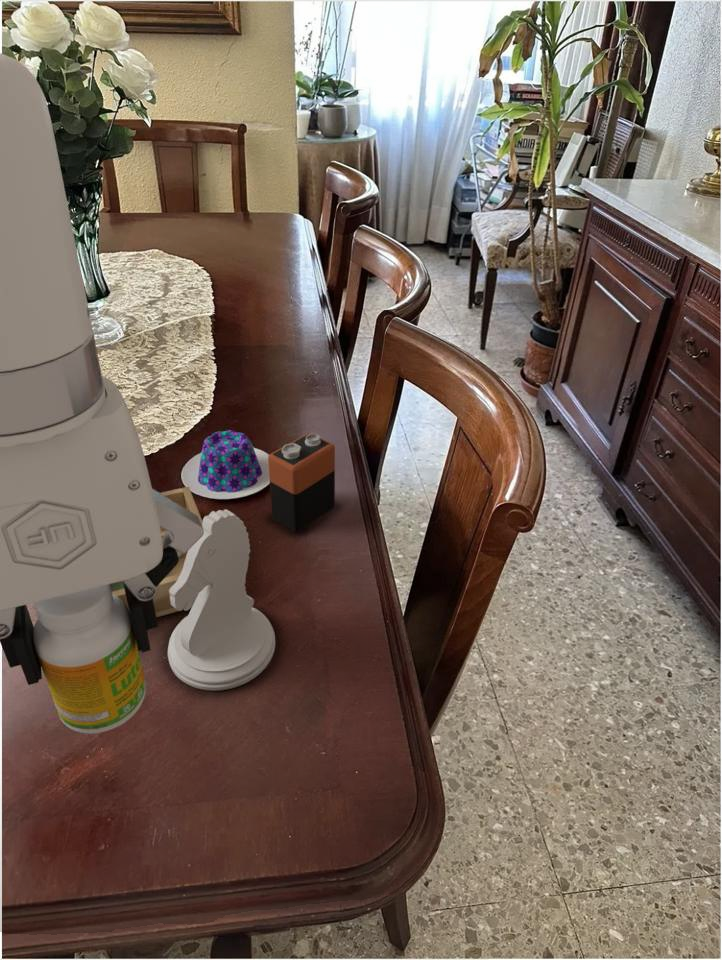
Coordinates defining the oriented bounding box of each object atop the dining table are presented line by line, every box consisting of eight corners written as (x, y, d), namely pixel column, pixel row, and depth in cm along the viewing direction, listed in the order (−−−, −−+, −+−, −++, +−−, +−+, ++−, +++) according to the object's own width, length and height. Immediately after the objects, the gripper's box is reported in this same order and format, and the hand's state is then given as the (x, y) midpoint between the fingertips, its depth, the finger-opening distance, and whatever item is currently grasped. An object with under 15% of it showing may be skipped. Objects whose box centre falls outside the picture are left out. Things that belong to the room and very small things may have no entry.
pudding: (171, 463, 87) (165, 428, 84) (258, 442, 91) (255, 409, 88) (197, 514, 78) (191, 478, 75) (291, 488, 83) (290, 453, 80)
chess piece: (146, 651, 61) (115, 526, 52) (227, 593, 67) (211, 473, 59) (216, 710, 56) (195, 583, 48) (297, 642, 62) (291, 518, 54)
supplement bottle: (132, 738, 40) (104, 628, 35) (44, 735, 40) (1, 624, 35) (156, 667, 45) (134, 559, 39) (76, 664, 45) (43, 556, 39)
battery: (270, 519, 77) (265, 447, 72) (310, 493, 82) (308, 423, 76) (297, 535, 75) (294, 462, 69) (336, 508, 80) (336, 437, 74)
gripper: (-251, 455, 24) (-80, 752, 34) (222, 384, 30) (245, 653, 40) (-204, 369, 29) (-69, 646, 40) (186, 324, 35) (214, 574, 46)
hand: (88, 647), depth 40 cm, fingers closed on supplement bottle, 5 cm apart
